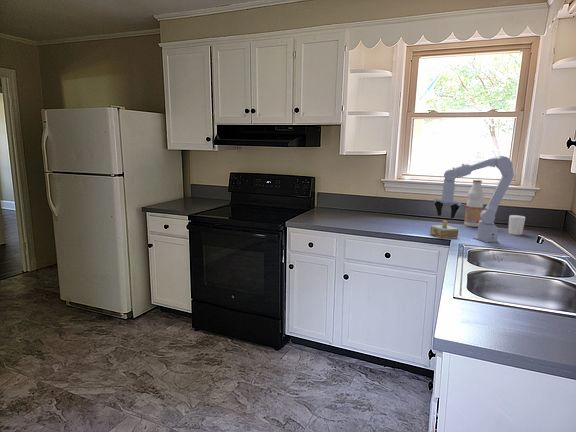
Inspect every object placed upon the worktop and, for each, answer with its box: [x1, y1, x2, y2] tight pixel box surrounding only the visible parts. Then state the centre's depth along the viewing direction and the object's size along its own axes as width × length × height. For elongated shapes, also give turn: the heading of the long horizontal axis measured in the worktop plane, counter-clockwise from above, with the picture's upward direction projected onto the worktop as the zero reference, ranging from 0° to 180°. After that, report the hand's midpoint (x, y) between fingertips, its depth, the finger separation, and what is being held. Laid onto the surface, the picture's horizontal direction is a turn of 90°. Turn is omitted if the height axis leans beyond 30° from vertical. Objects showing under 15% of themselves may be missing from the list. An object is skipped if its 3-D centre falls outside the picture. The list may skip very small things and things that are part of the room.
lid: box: [430, 220, 459, 231], centre depth 216 cm, size 10×10×4 cm
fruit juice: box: [463, 179, 485, 228], centre depth 243 cm, size 9×9×28 cm
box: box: [430, 226, 459, 239], centre depth 217 cm, size 10×10×4 cm
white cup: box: [508, 214, 526, 236], centre depth 226 cm, size 8×8×10 cm
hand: (445, 216), depth 216 cm, fingers open, 7 cm apart
